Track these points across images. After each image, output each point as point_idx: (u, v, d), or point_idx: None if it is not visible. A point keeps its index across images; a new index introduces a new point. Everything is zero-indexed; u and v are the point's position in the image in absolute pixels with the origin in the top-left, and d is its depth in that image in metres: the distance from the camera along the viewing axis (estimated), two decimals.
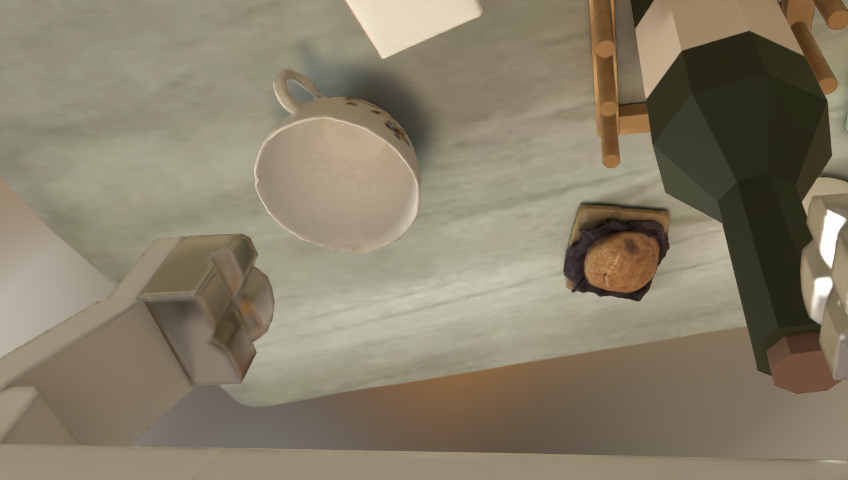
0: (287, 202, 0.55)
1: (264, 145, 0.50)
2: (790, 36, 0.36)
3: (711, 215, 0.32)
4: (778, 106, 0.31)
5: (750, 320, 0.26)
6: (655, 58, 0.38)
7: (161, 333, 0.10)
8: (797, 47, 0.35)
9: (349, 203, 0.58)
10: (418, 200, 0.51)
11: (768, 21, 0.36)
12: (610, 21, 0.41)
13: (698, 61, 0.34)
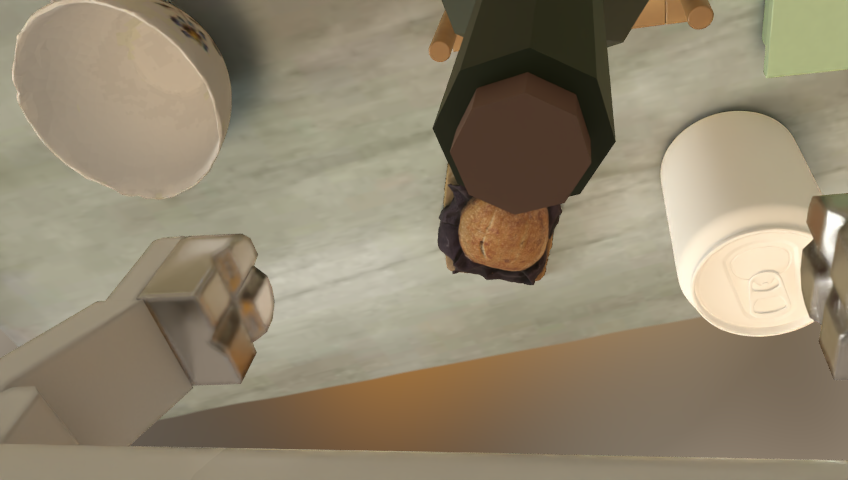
0: (74, 133, 0.44)
1: (18, 42, 0.39)
2: None
3: None
4: None
5: (445, 92, 0.14)
6: None
7: (161, 333, 0.10)
8: None
9: (162, 143, 0.47)
10: (218, 121, 0.40)
11: None
12: None
13: None
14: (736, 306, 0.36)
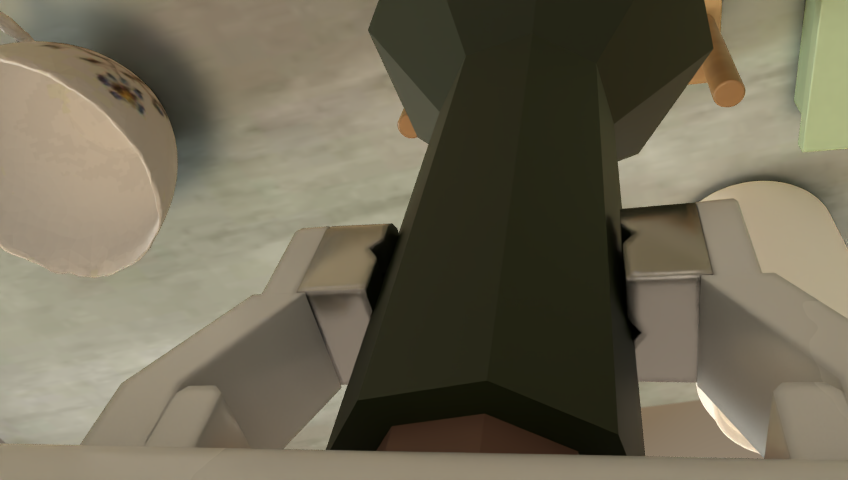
0: None
1: None
2: None
3: None
4: None
5: (353, 372, 0.08)
6: None
7: (318, 329, 0.09)
8: None
9: (103, 209, 0.41)
10: (155, 195, 0.34)
11: None
12: None
13: None
14: None
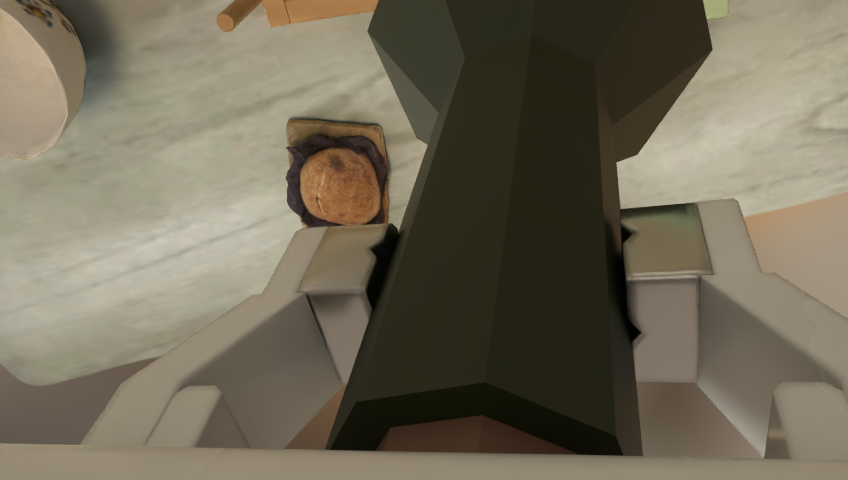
0: None
1: None
2: None
3: None
4: None
5: (351, 374, 0.08)
6: None
7: (318, 328, 0.09)
8: None
9: (33, 112, 0.53)
10: (61, 88, 0.46)
11: None
12: None
13: None
14: None
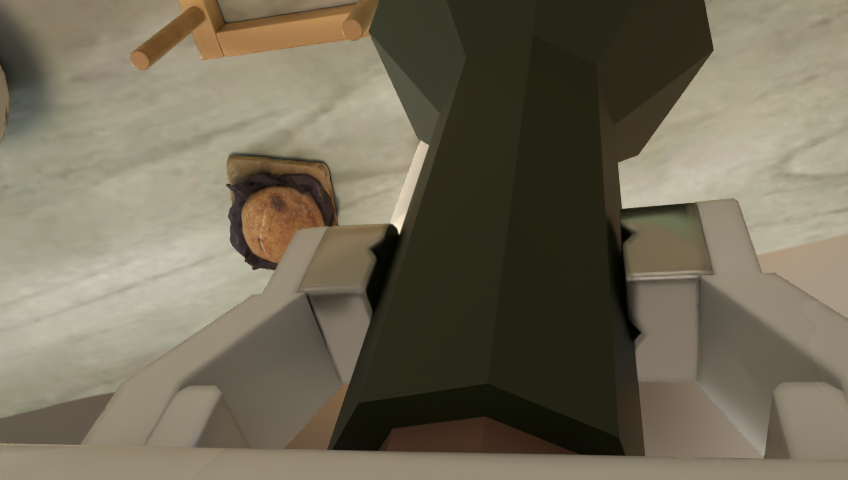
0: None
1: None
2: None
3: None
4: None
5: (353, 375, 0.08)
6: None
7: (318, 328, 0.09)
8: None
9: None
10: None
11: None
12: None
13: None
14: None
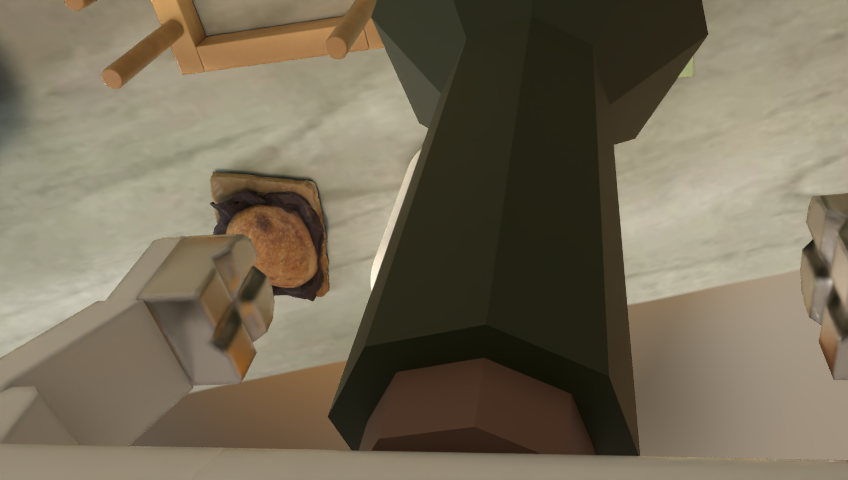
0: None
1: None
2: None
3: None
4: None
5: (359, 330, 0.09)
6: None
7: (160, 333, 0.10)
8: None
9: None
10: None
11: None
12: None
13: None
14: None
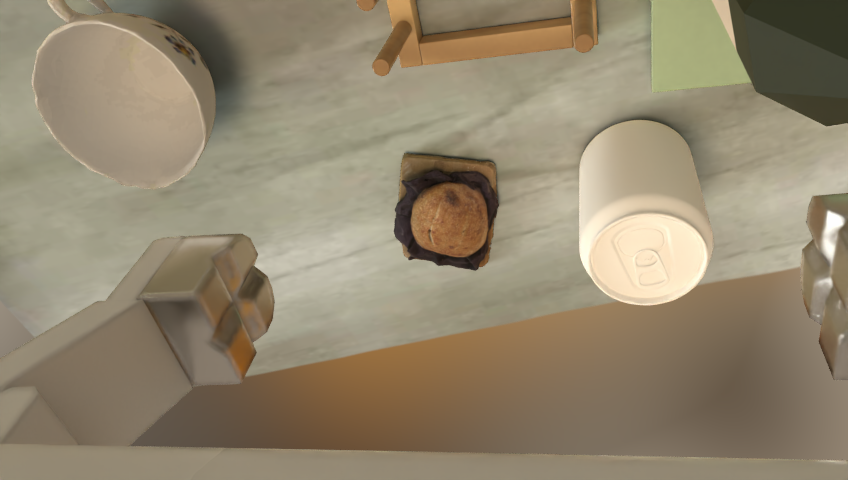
0: (82, 132, 0.52)
1: (38, 55, 0.47)
2: None
3: (835, 94, 0.23)
4: None
5: None
6: None
7: (161, 333, 0.10)
8: None
9: (157, 142, 0.55)
10: (202, 122, 0.48)
11: None
12: None
13: None
14: (626, 279, 0.44)
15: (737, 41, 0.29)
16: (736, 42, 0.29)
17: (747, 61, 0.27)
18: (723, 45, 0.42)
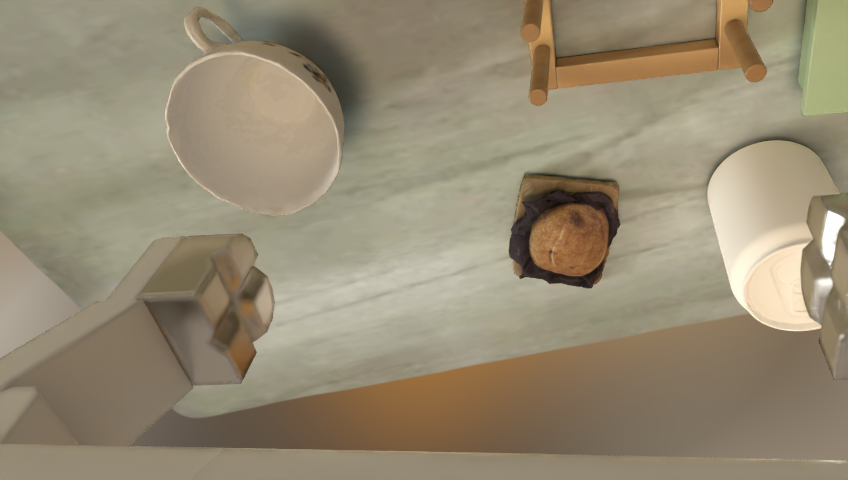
0: (206, 159, 0.52)
1: (174, 86, 0.46)
2: None
3: None
4: None
5: None
6: None
7: (161, 333, 0.10)
8: None
9: (276, 167, 0.54)
10: (339, 151, 0.47)
11: None
12: None
13: None
14: (780, 306, 0.44)
15: None
16: None
17: None
18: None
